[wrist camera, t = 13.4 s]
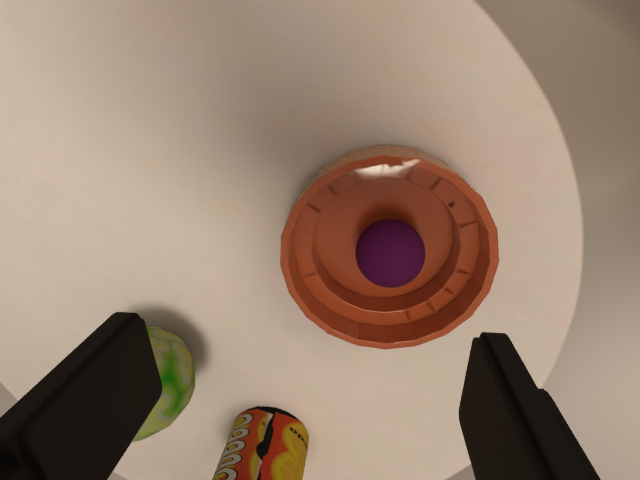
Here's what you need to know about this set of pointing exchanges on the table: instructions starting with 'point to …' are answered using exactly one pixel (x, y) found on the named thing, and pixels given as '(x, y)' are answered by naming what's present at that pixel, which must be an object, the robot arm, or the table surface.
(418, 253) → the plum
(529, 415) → the robot arm
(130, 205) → the table surface
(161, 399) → the decorative ball
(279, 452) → the beverage can
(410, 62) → the table surface
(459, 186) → the bowl
